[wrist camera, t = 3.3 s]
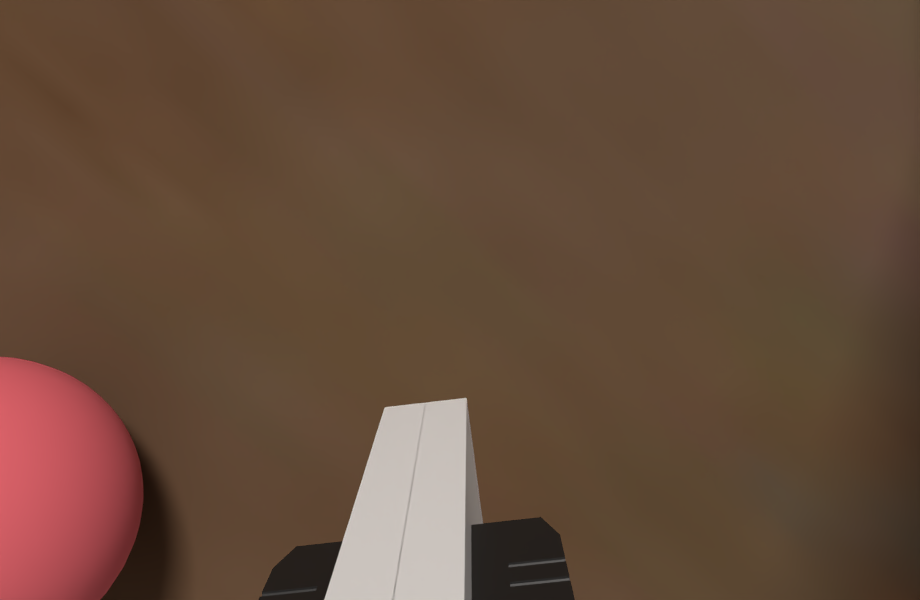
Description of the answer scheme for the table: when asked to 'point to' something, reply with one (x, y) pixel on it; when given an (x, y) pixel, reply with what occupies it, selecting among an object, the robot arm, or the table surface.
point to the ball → (62, 486)
